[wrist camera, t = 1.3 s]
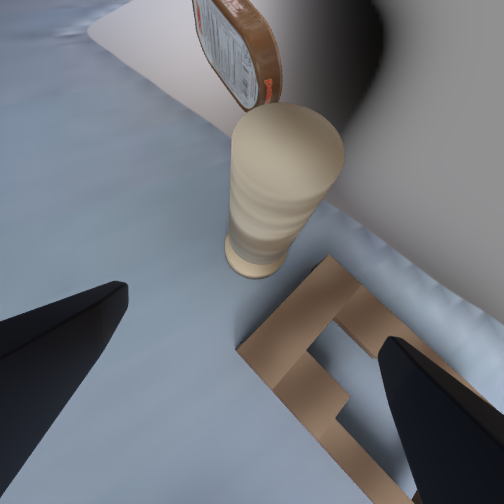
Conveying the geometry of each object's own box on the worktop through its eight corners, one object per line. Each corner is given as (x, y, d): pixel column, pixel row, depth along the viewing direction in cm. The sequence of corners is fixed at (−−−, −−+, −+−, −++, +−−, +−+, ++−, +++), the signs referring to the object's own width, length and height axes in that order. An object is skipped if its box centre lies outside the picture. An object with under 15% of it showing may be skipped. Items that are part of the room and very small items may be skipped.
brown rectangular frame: (459, 399, 21) (496, 409, 18) (390, 522, 18) (422, 557, 15) (316, 264, 24) (329, 254, 21) (234, 349, 20) (236, 351, 18)
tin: (276, 124, 29) (295, 43, 21) (253, 133, 28) (263, 52, 20) (214, 43, 33) (210, -53, 25) (192, 49, 32) (181, -48, 24)
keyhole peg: (254, 292, 22) (293, 228, 10) (212, 248, 23) (196, 138, 10) (296, 251, 24) (375, 152, 11) (255, 212, 25) (285, 80, 12)
